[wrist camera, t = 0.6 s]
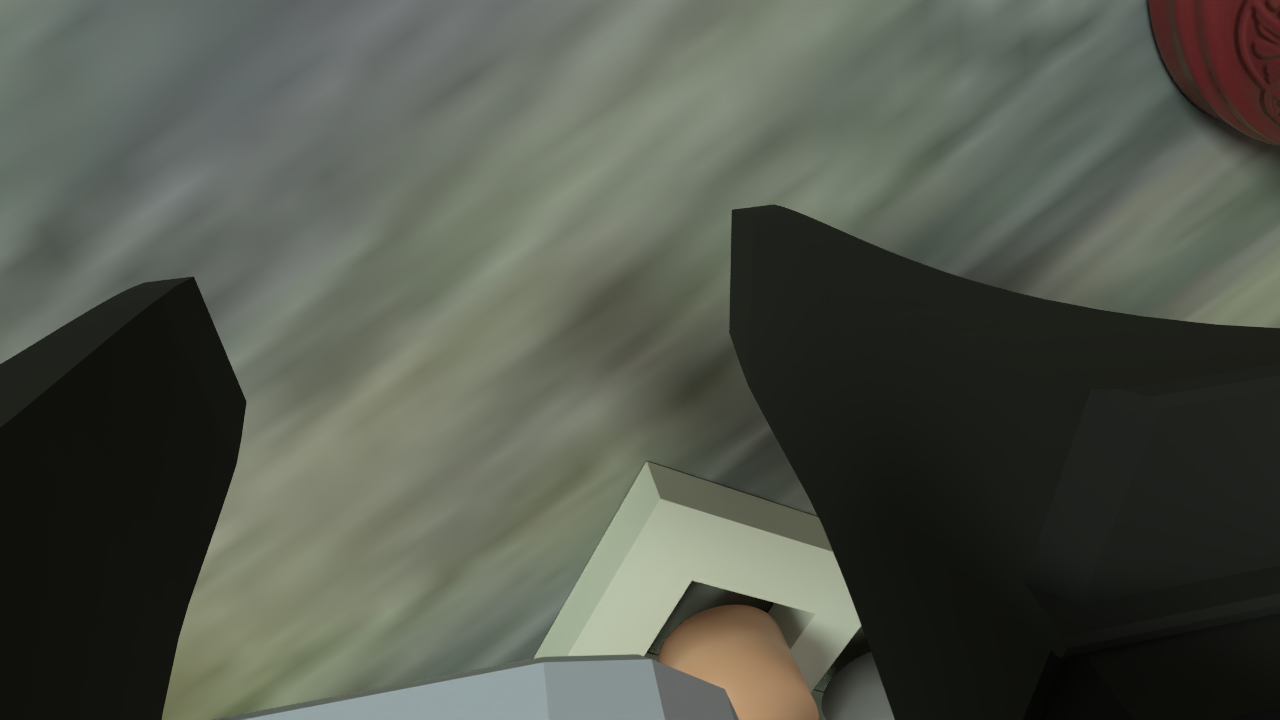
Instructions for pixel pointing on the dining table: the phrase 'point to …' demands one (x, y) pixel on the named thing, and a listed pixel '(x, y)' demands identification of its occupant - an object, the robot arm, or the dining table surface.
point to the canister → (1225, 59)
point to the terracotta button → (742, 662)
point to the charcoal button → (856, 693)
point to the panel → (706, 572)
